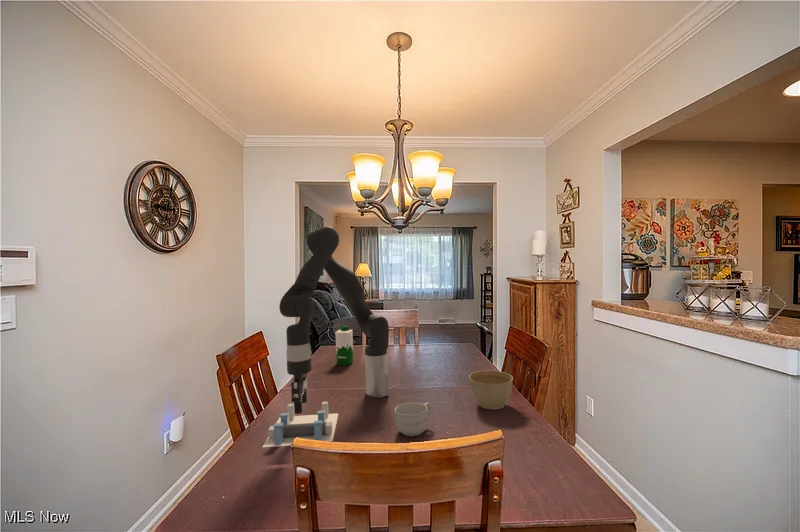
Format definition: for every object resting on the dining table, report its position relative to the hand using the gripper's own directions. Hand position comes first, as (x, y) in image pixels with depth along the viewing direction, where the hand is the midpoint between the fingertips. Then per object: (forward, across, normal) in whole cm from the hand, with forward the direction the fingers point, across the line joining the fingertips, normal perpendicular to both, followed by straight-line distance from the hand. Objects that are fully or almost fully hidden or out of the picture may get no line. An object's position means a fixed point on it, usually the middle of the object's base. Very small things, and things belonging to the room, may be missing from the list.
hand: (300, 407), depth 115 cm
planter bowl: (+10, +15, -68) cm, 70 cm away
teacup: (+10, -1, -37) cm, 38 cm away
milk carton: (+10, +82, -8) cm, 84 cm away
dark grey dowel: (+9, 0, 0) cm, 9 cm away
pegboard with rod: (+10, +4, 0) cm, 11 cm away
